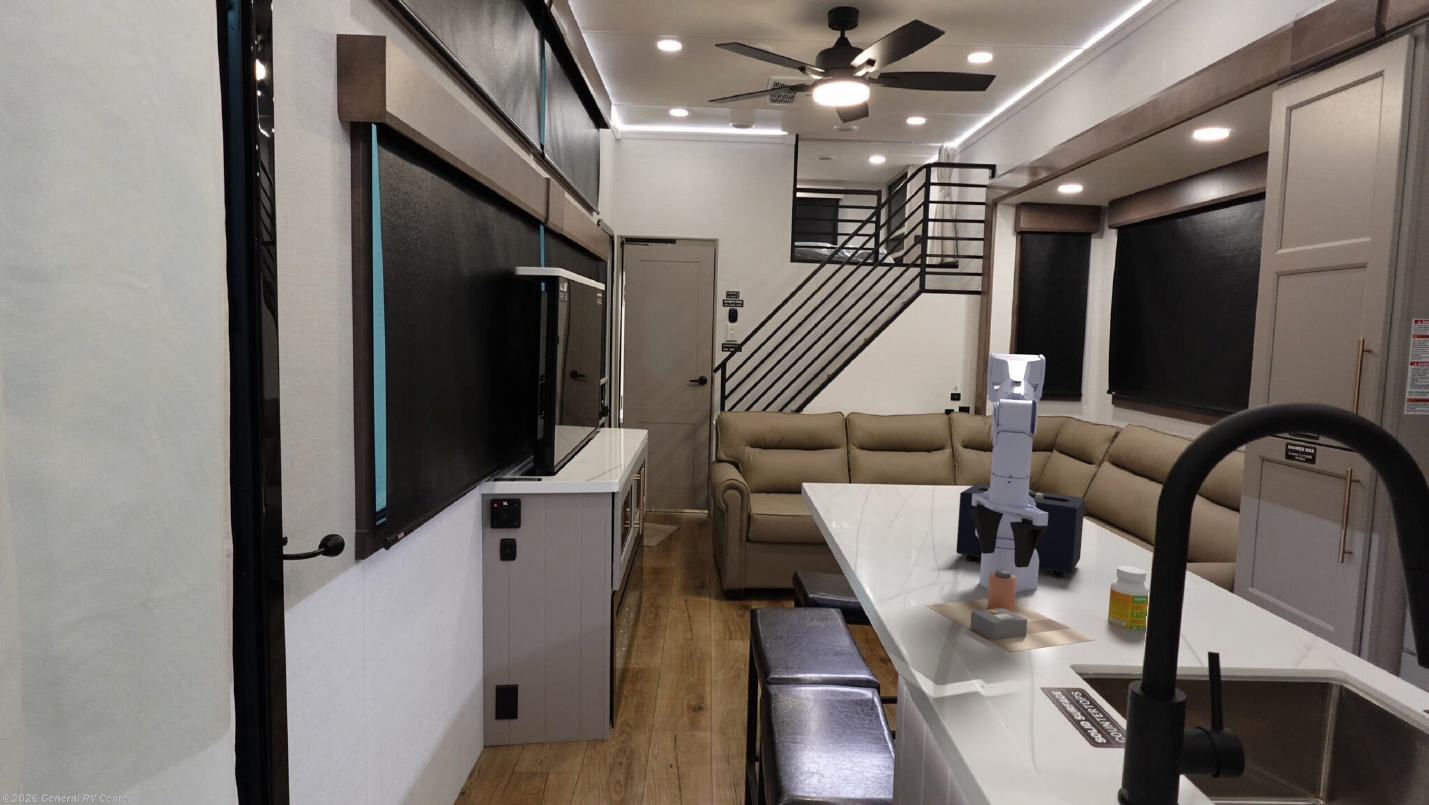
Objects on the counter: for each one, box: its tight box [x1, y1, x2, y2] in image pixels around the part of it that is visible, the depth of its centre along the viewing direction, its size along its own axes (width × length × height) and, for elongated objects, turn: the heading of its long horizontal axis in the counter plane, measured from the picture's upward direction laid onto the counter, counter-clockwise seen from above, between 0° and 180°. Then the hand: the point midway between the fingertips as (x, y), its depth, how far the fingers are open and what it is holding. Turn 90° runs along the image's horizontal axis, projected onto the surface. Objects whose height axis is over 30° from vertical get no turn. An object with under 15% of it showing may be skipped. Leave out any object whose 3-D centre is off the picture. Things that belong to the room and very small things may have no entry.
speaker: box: [955, 483, 1086, 578], centre depth 153 cm, size 22×13×15 cm, turn 58°
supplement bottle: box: [1107, 565, 1150, 630], centre depth 118 cm, size 5×5×10 cm
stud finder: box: [970, 608, 1027, 640], centre depth 112 cm, size 6×5×3 cm
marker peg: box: [987, 570, 1017, 613], centre depth 120 cm, size 4×4×7 cm
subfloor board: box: [925, 598, 1097, 653], centre depth 116 cm, size 16×19×1 cm
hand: (1004, 559), depth 120 cm, fingers open, 7 cm apart
